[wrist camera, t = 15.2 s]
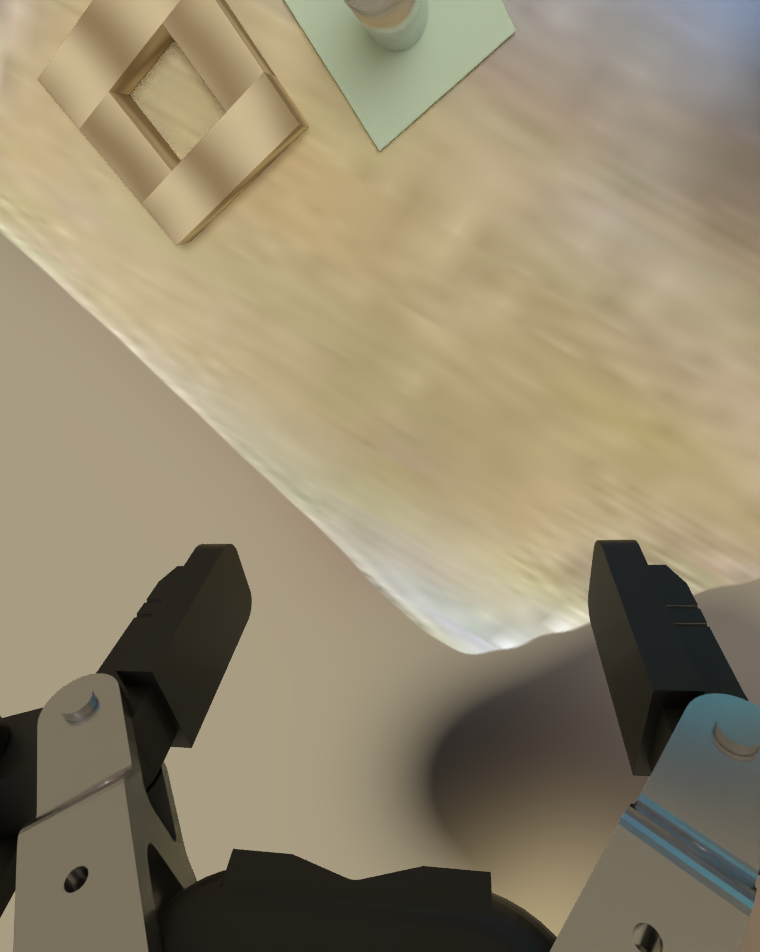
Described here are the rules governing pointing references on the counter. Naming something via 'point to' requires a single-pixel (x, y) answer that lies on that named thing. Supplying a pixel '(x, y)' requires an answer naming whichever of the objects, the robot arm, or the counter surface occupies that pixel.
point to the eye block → (135, 138)
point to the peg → (392, 21)
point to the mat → (401, 57)
